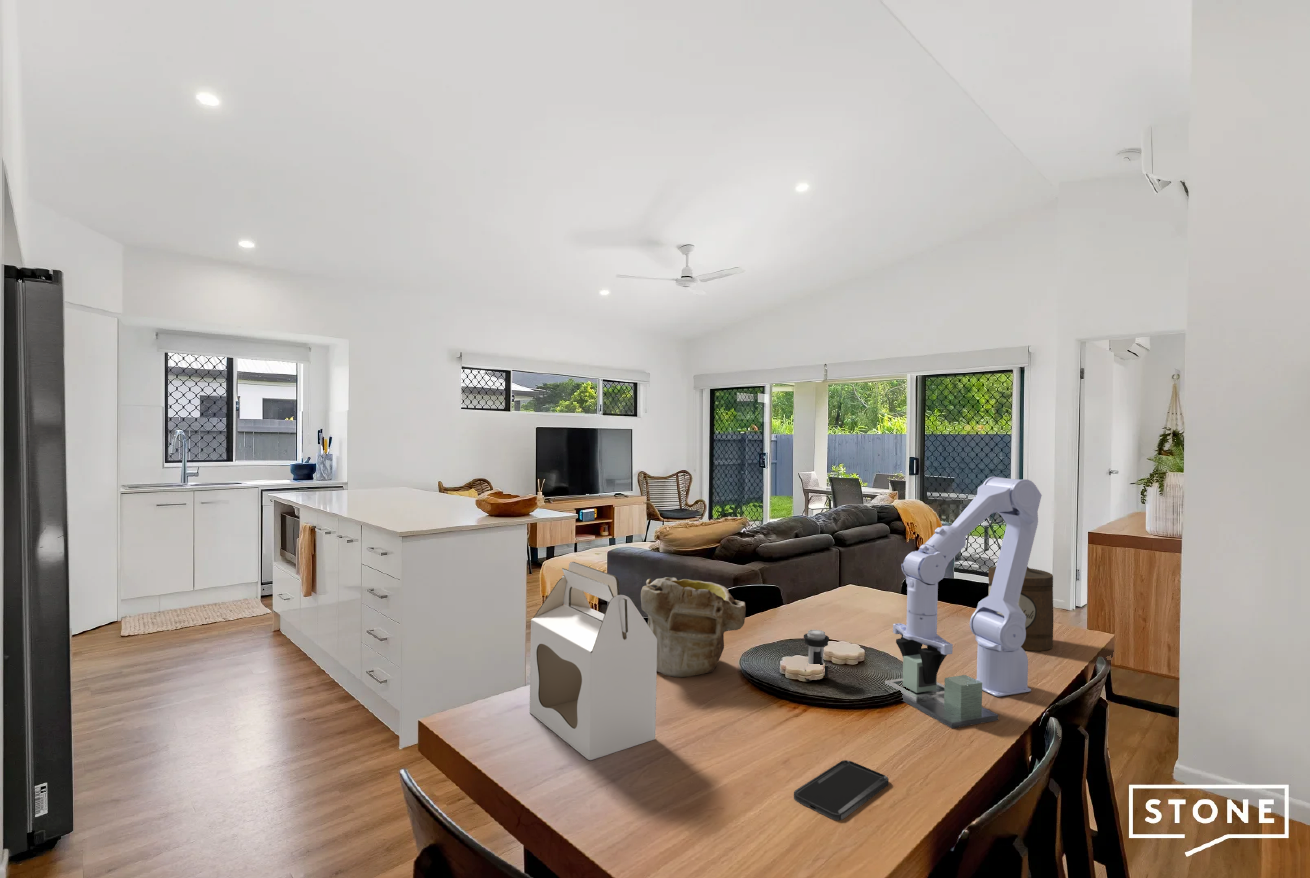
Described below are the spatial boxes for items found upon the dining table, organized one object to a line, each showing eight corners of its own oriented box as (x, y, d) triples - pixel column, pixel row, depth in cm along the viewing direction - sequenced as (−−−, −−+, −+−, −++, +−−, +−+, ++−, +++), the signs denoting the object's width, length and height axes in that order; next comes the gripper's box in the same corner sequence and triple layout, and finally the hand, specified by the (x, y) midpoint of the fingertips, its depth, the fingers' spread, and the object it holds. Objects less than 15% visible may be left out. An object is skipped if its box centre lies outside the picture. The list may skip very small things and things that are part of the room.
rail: (878, 687, 137) (878, 653, 136) (920, 681, 140) (921, 648, 140) (951, 728, 118) (952, 689, 118) (998, 720, 122) (999, 682, 121)
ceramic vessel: (740, 610, 163) (747, 543, 147) (742, 703, 144) (749, 636, 128) (649, 605, 165) (646, 538, 149) (639, 695, 146) (634, 629, 130)
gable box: (528, 712, 121) (530, 561, 121) (589, 696, 129) (592, 554, 129) (589, 762, 104) (592, 585, 103) (656, 740, 111) (660, 576, 111)
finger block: (902, 685, 134) (903, 656, 134) (922, 682, 136) (922, 653, 136) (918, 693, 130) (918, 663, 130) (937, 690, 132) (938, 661, 131)
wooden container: (974, 637, 172) (976, 553, 172) (1012, 630, 179) (1014, 550, 178) (1026, 654, 159) (1029, 564, 159) (1066, 647, 165) (1068, 560, 165)
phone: (891, 778, 99) (838, 816, 89) (891, 785, 99) (838, 825, 89) (844, 758, 105) (789, 792, 94) (844, 765, 105) (789, 800, 94)
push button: (810, 686, 137) (811, 638, 136) (792, 677, 141) (793, 631, 141) (833, 680, 140) (834, 633, 140) (816, 672, 144) (817, 627, 144)
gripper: (881, 604, 138) (880, 668, 138) (932, 623, 124) (931, 694, 125) (908, 601, 141) (907, 664, 141) (961, 620, 127) (960, 690, 127)
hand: (920, 678), depth 133 cm, fingers closed on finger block, 4 cm apart
